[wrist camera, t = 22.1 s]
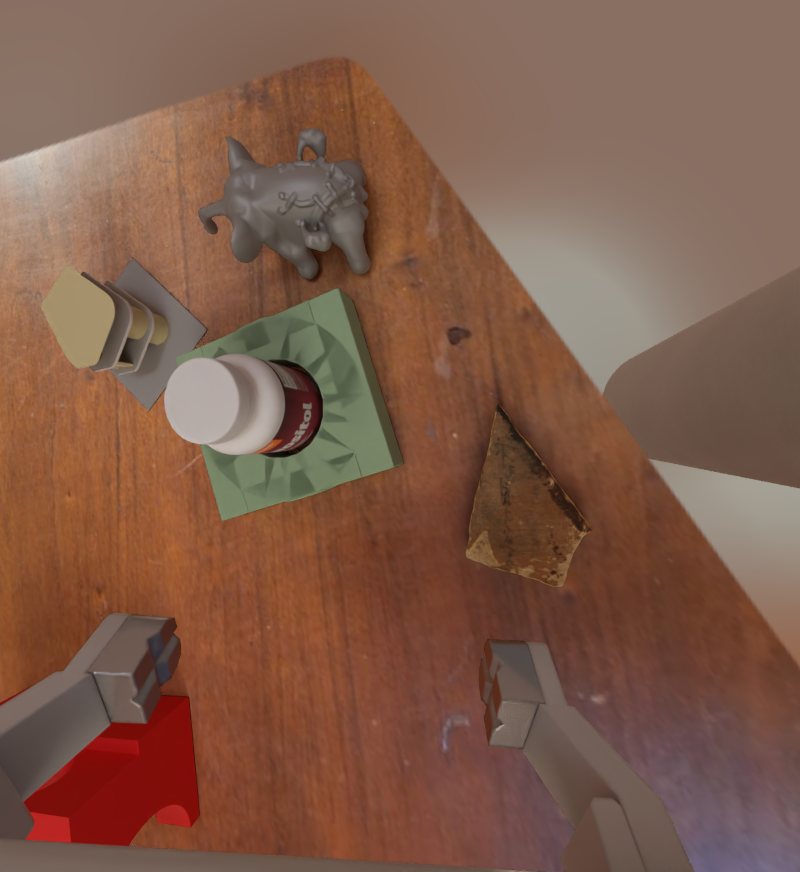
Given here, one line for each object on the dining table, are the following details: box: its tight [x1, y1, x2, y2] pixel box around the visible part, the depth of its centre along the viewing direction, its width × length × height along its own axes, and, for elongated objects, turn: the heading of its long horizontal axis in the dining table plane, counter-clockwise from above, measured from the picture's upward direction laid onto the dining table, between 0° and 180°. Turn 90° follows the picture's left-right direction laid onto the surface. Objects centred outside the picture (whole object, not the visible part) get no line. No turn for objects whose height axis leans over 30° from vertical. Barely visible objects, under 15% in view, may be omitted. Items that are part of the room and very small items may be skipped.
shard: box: [466, 404, 592, 587], centre depth 28 cm, size 11×8×2 cm
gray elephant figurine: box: [198, 128, 371, 279], centre depth 29 cm, size 9×12×8 cm
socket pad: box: [176, 288, 403, 521], centre depth 31 cm, size 14×13×3 cm
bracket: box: [0, 688, 200, 846], centre depth 33 cm, size 18×10×10 cm
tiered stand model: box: [41, 258, 207, 411], centre depth 34 cm, size 10×9×6 cm
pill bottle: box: [164, 354, 323, 455], centre depth 28 cm, size 6×6×11 cm
